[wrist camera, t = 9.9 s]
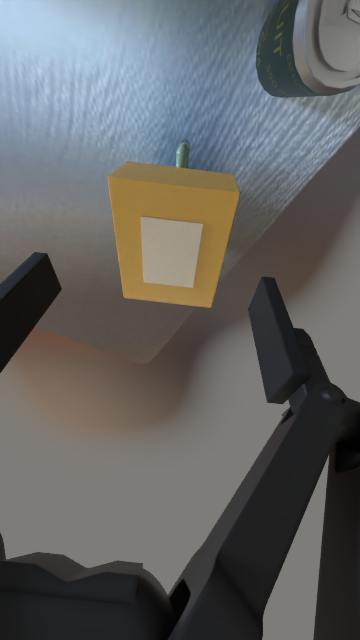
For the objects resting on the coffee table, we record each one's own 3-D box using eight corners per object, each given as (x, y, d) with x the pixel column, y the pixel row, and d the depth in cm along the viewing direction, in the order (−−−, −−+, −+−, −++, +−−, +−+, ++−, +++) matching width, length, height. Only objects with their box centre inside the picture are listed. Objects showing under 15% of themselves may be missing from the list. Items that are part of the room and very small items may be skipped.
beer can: (345, 8, 16) (508, -99, 7) (296, 107, 19) (367, 113, 11) (279, -28, 15) (377, -192, 7) (242, 83, 19) (274, 69, 10)
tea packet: (127, 161, 17) (106, 177, 14) (233, 173, 17) (240, 192, 14) (135, 269, 24) (123, 298, 21) (210, 278, 24) (211, 308, 21)
